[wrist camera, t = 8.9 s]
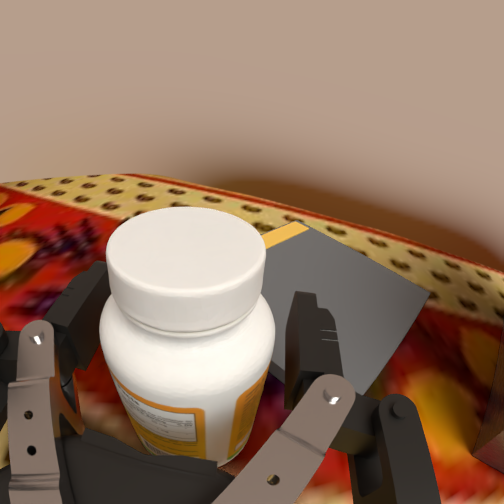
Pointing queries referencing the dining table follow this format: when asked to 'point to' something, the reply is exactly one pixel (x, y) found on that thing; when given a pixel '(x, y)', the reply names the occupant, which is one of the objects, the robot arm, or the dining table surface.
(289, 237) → the mat
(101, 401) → the dining table surface
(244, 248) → the supplement bottle
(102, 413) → the dining table surface
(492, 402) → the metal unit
